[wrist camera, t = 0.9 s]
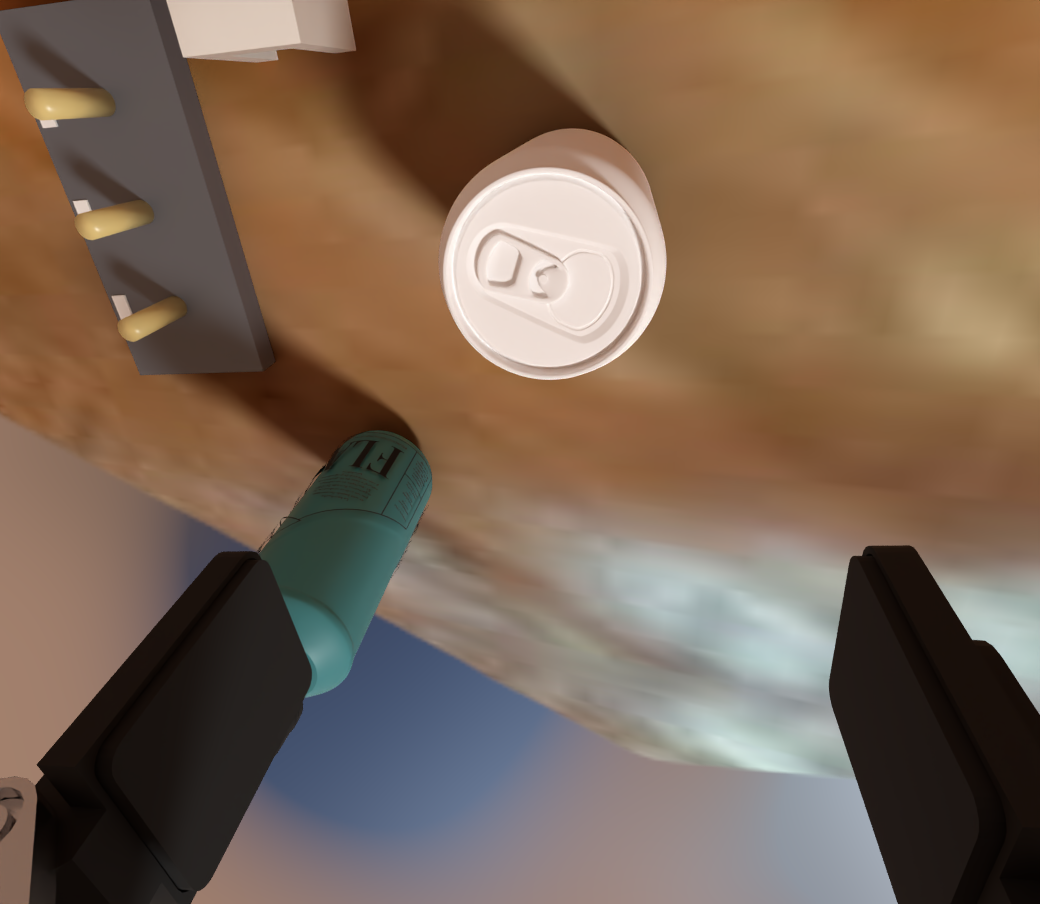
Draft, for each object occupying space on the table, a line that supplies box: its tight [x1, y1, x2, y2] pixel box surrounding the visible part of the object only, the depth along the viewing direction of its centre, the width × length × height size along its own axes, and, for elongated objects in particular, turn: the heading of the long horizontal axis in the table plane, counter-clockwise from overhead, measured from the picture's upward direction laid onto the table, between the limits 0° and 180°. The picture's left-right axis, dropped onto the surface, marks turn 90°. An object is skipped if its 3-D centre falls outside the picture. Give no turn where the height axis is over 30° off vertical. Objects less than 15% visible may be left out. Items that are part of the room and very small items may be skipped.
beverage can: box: [439, 128, 666, 380], centre depth 26 cm, size 8×8×12 cm
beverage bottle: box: [256, 430, 432, 755], centre depth 32 cm, size 6×7×20 cm
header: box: [0, 0, 275, 375], centre depth 32 cm, size 18×8×6 cm, turn 5°
